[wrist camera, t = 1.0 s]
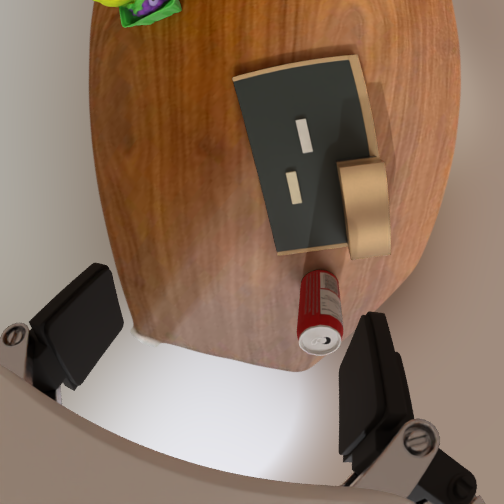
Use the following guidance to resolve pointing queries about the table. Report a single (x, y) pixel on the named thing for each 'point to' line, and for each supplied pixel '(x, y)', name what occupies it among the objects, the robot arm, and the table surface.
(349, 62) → the chalkboard
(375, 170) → the eraser
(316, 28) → the table surface
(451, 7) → the table surface
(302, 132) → the white chalk stick
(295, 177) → the chalk mark
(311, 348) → the soda can
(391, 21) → the table surface
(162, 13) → the fruit basket
